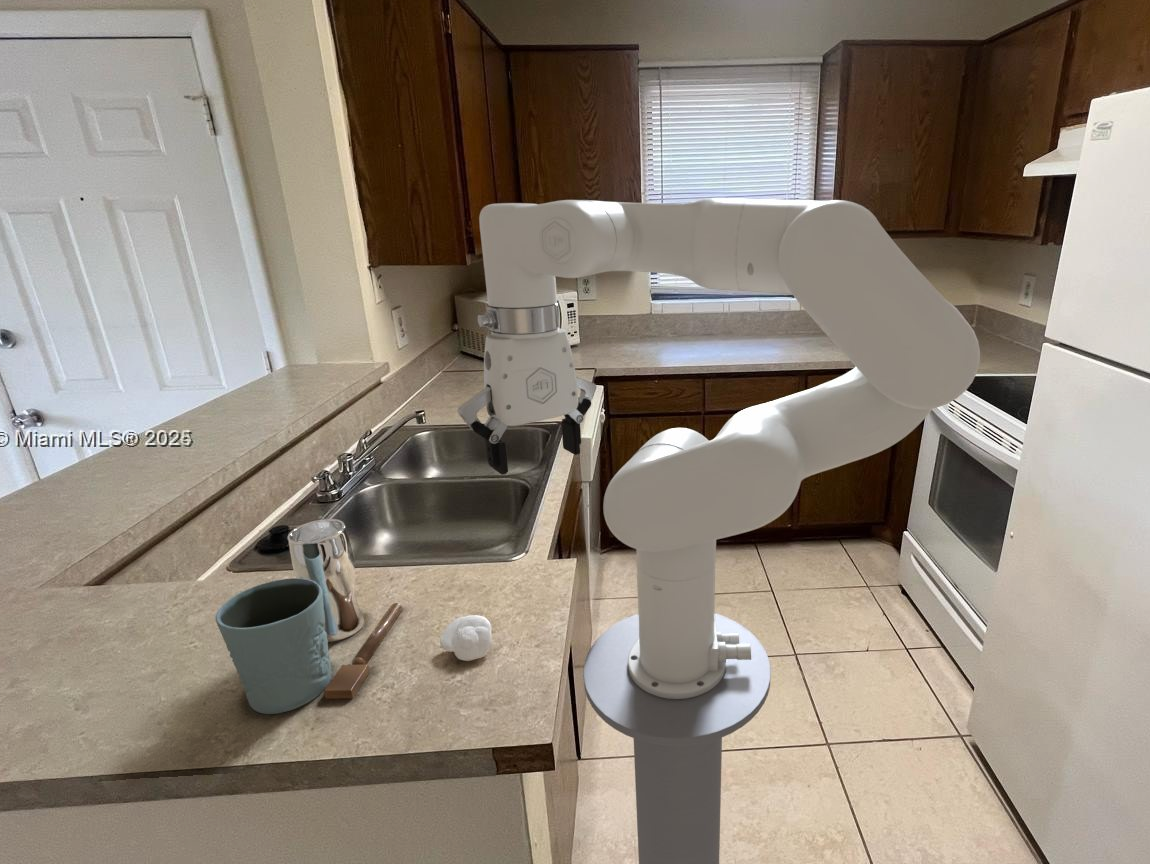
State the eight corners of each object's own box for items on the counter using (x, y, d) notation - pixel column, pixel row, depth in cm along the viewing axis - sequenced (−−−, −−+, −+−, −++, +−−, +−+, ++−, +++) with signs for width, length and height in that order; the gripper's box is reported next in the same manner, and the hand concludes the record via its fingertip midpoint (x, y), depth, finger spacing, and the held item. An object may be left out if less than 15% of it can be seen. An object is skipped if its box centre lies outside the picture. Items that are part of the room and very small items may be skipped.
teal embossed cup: (223, 702, 71) (194, 615, 66) (304, 648, 79) (283, 569, 75) (281, 730, 67) (254, 639, 63) (360, 670, 75) (340, 587, 71)
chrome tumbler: (304, 628, 83) (278, 530, 78) (357, 606, 88) (336, 513, 83) (320, 651, 79) (294, 550, 74) (375, 627, 83) (355, 530, 78)
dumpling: (500, 638, 81) (500, 618, 79) (484, 671, 77) (483, 650, 75) (451, 626, 82) (449, 606, 80) (431, 658, 77) (429, 637, 75)
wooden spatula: (387, 610, 87) (385, 600, 86) (410, 610, 87) (408, 600, 86) (325, 699, 71) (322, 688, 70) (353, 698, 71) (350, 687, 70)
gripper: (461, 334, 61) (481, 490, 67) (607, 316, 71) (613, 453, 77) (436, 324, 66) (456, 469, 72) (574, 309, 77) (582, 437, 82)
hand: (537, 460), depth 75 cm, fingers open, 9 cm apart
